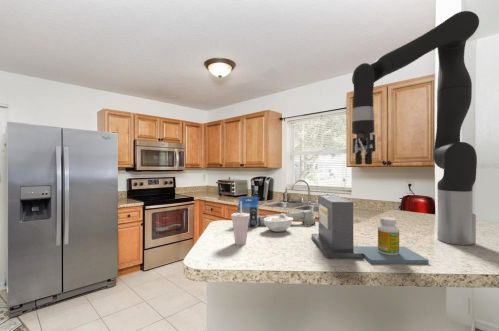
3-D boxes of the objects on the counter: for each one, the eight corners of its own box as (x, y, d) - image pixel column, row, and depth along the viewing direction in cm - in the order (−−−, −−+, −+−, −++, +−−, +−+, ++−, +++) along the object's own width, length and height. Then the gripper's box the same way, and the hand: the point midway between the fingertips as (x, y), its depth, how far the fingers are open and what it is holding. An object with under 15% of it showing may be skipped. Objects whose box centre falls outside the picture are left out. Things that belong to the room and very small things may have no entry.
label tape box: (236, 226, 109) (236, 197, 109) (239, 224, 113) (239, 196, 113) (257, 227, 107) (256, 198, 107) (259, 225, 111) (258, 196, 111)
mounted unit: (339, 237, 91) (339, 194, 91) (363, 258, 71) (363, 203, 71) (311, 237, 92) (311, 194, 91) (327, 258, 72) (326, 203, 71)
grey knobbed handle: (257, 215, 114) (311, 206, 116) (259, 230, 115) (313, 221, 116) (258, 217, 109) (315, 208, 111) (260, 233, 109) (317, 223, 111)
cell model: (259, 229, 104) (259, 212, 104) (284, 226, 109) (284, 210, 109) (270, 235, 95) (270, 217, 95) (298, 232, 99) (298, 214, 99)
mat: (404, 249, 78) (404, 246, 78) (428, 263, 67) (428, 260, 67) (354, 249, 79) (354, 246, 79) (370, 263, 68) (370, 259, 68)
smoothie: (253, 241, 88) (252, 200, 88) (245, 247, 82) (244, 203, 82) (236, 239, 90) (236, 199, 90) (227, 244, 85) (227, 202, 85)
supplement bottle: (391, 257, 70) (391, 221, 70) (373, 251, 74) (373, 217, 74) (403, 253, 72) (403, 219, 72) (385, 248, 77) (385, 215, 77)
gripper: (382, 117, 88) (383, 164, 88) (365, 123, 102) (365, 164, 102) (360, 117, 88) (360, 164, 88) (345, 123, 102) (346, 164, 102)
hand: (363, 164), depth 95 cm, fingers open, 8 cm apart
